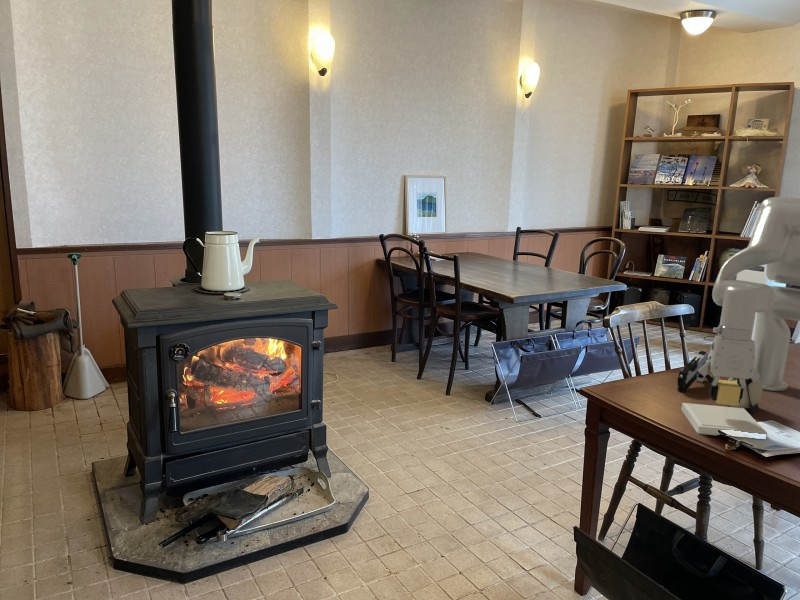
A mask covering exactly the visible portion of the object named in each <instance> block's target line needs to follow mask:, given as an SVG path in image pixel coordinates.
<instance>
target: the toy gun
mask: <svg viewBox="0 0 800 600" xmlns="http://www.w3.org/2000/svg"><path fill="white" fill-rule="evenodd" d="M708 358H709V351H704V350H701V349H700V350H698V351H697V353H696V354H695V355H694V356H692V359H690V361H689V362H688V363H687V364H686V366H684V368H682V369H681V370H680V371H679V372H678V377H677V391H678V392H681V393H686V392H687V390H689V388H691V386H692V384H693V383H694V382H695V381H696V382H699V383H704V381H705V379H706V378H705V377H704V376H703V375H702V374H701V373H700V372H699V371H698V369H699V368H700V367H702V366H703V365H704V364H705V363H706V362H707V361H708ZM707 373H708V371H707ZM708 374H709V373H708Z"/></svg>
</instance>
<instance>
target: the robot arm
mask: <svg viewBox="0 0 800 600" xmlns="http://www.w3.org/2000/svg"><path fill="white" fill-rule="evenodd" d="M765 265H766V277H767V279H768V280H769V281H771V282H774V283H778V284H785V285H792V286H798V287H800V197H788V196H776V197H775V196H773V197H768V198H765V199H763V201H762V202H761V205H760V212H759V215H758V218H757V221H756V224H755V227H754V229H753V231H752V234H751V237H750V240H749V242H748V245H747V247H745V248H743V249H741V250H740V251H738V252H737V253H735V254H733V255H732V256H731V257H730V258H728V259H727V260H726V261H725V262H724V263H723V265H722V266H721V267H720V270H719V271H718V274H717V277H716V279H715V282H714V286H713V288H712V293H711V296H712V300H713V302H714V303H715V304H716V305H717V306H720V307H722V308H721V315H720V320H719V321H720V322H719V324H718V326H717V327H714V326H713V328H712V333H714V334H715V333H716V334H717V335H715V337H714V339H713V342H712V344H711V347H710V350H709V353H708V360H707V361H706V363H705V364H704V365H703V366H702V367H700V368H699V369H698V371H699V372H700V373H701V374H702V375H703V376H704V377H705V379H706V380H707V381H708V382H709V388H708V396H709V397H710V399H711V400H712V401H714V402H715V401H716V399H717V393H718V386H717V383H718V381H719V380H721V378H728V379H729V378H737V384H738V385H739V386H740V387H741V391H740V397H739V403H740V399H742V396H743V390H744V389H745V388H746V386H747V385H749V384H750V383H752V382H753V381H755V380H757V379H759V380H760V381H761V383H762V387H763V390H765V391H772V392H774V391H775V392H781V391H786V390H788V386H789V385H788V383H787V382H786V381H784V376H785V369H786V363H787V358H788V351H789V347H790V341H791V330H790V327H789V325H788V324H787V321H785V320H791V321H797V322H800V288H793V287H789V286H788V287H786V286H779V285H778V286H777V285H768V284H766V283H765V284H764V283H762V282H761V283H759V282H752V281H747V280H739V279H733V278H734V277H735V276H736V275H737V274H739V273H741V272H742V271H745V270H748V269H752V268H756V267H761V266H765ZM755 319H756V320H755ZM755 321H756V322H755ZM754 326H755V328H754ZM753 331H754V335H753ZM752 338H753V339H752ZM708 371H709V372H710V373H711V374H709V373H707V372H708Z"/></svg>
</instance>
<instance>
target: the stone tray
mask: <svg viewBox="0 0 800 600" xmlns="http://www.w3.org/2000/svg"><path fill="white" fill-rule="evenodd" d="M681 411H682V413H683V415H685V417H686V418H687V420H688V422H690V423H689V424H690V425H691V426H692V427H693V429H694V431H695V432H696V433H697V434H701V435H709V436H710V435H711V436H717V435H720V434H719V432H718V430H734V431H741V432H748V433H758V434H766V435H768V432H767V431H766V430H765V429H764V428H763V427H762V425H761V424H759V422H758V421H756V419H754V418H753V417H754V416H753V417H752V415H751V413H749V412H748V411H747V410H746V408H745V409H744V408H734V407H730V406H723V405H722V406H721V405H708V404H698V403H689V402H682V403H681Z"/></svg>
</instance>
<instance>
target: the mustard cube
mask: <svg viewBox="0 0 800 600" xmlns="http://www.w3.org/2000/svg"><path fill="white" fill-rule="evenodd" d="M717 386H718V393H717V399H716V401H714V402H715V403H716V404H717V405H724V406H725V405H726V406H728V405H735V406H738V403H739V397H740V391H741V387H740V386H739V385H738V384H737V383H736V382H735V381H728V379H727V380H726V379H725V380H724V379H719V381H718V383H717Z"/></svg>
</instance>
